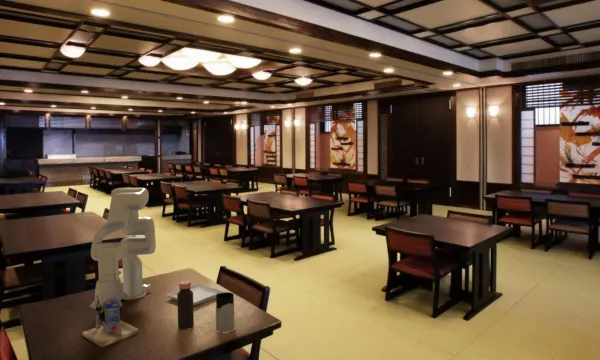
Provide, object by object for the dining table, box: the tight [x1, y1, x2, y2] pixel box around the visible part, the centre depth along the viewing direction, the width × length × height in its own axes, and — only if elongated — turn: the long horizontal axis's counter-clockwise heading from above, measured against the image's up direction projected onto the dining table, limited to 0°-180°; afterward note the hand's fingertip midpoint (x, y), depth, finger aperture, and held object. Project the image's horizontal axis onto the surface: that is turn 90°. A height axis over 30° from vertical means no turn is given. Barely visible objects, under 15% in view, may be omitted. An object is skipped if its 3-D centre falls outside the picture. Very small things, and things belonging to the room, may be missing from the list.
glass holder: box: [215, 291, 236, 332], centre depth 179 cm, size 9×14×15 cm, turn 32°
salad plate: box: [166, 283, 224, 306], centre depth 213 cm, size 21×21×3 cm
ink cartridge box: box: [101, 299, 121, 332], centre depth 171 cm, size 10×6×14 cm, turn 39°
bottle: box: [176, 280, 195, 330], centre depth 178 cm, size 7×7×20 cm
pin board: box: [82, 315, 140, 348], centre depth 172 cm, size 16×16×6 cm
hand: (110, 317), depth 171 cm, fingers closed on ink cartridge box, 6 cm apart
